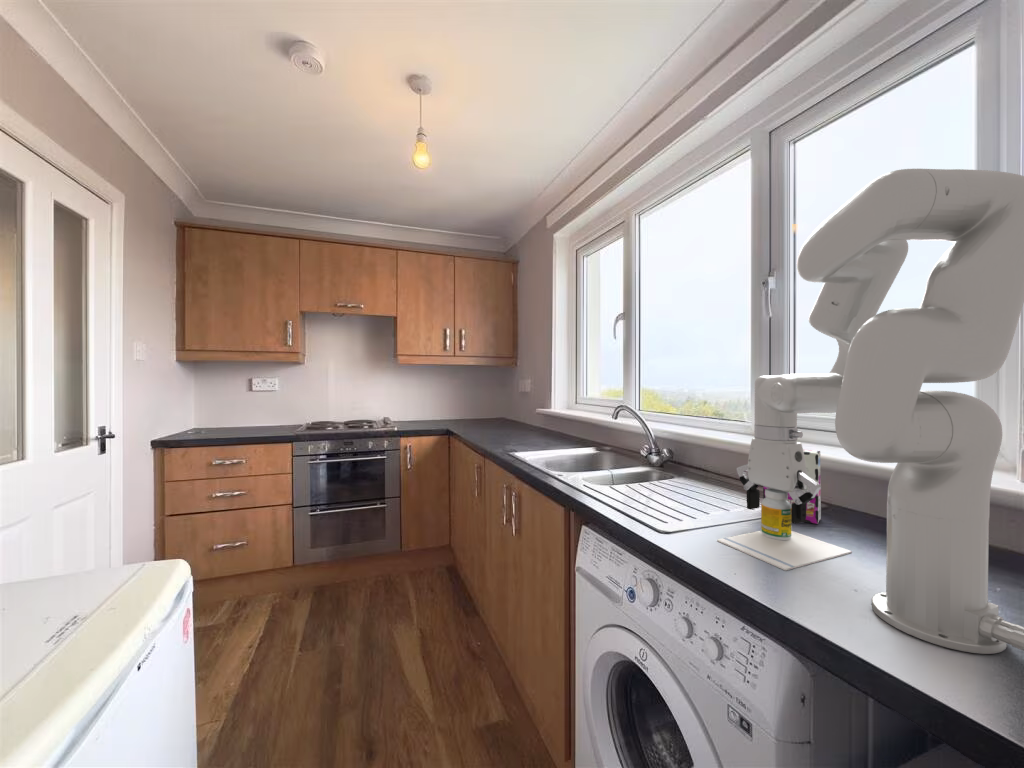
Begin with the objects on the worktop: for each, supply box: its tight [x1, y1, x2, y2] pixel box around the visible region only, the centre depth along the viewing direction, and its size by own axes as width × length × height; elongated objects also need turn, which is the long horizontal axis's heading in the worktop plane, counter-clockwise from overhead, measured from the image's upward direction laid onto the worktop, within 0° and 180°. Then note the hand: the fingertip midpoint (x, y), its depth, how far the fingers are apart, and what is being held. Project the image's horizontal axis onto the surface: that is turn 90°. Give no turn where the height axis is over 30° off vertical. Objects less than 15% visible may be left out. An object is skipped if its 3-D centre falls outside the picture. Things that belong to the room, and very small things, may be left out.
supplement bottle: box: [760, 488, 793, 540], centre depth 85 cm, size 5×5×10 cm
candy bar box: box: [762, 449, 822, 525], centre depth 98 cm, size 11×5×16 cm, turn 47°
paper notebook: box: [716, 530, 853, 572], centre depth 81 cm, size 14×19×1 cm
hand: (774, 515), depth 86 cm, fingers open, 9 cm apart
